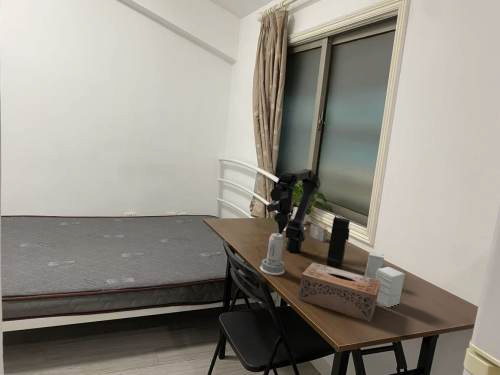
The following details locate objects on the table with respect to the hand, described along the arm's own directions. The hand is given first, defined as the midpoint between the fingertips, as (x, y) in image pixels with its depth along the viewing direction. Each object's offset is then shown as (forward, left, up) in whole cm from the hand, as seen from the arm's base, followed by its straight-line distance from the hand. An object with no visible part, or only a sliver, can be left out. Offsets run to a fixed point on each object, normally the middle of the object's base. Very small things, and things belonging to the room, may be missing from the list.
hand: (281, 231), depth 170 cm
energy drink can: (+8, +14, -12) cm, 20 cm away
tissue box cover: (-6, +43, -14) cm, 46 cm away
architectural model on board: (-36, -29, -14) cm, 48 cm away
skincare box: (-33, +27, -13) cm, 45 cm away
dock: (+8, +14, -13) cm, 21 cm away
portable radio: (-25, +10, -13) cm, 30 cm away
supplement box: (-26, +45, -13) cm, 54 cm away
